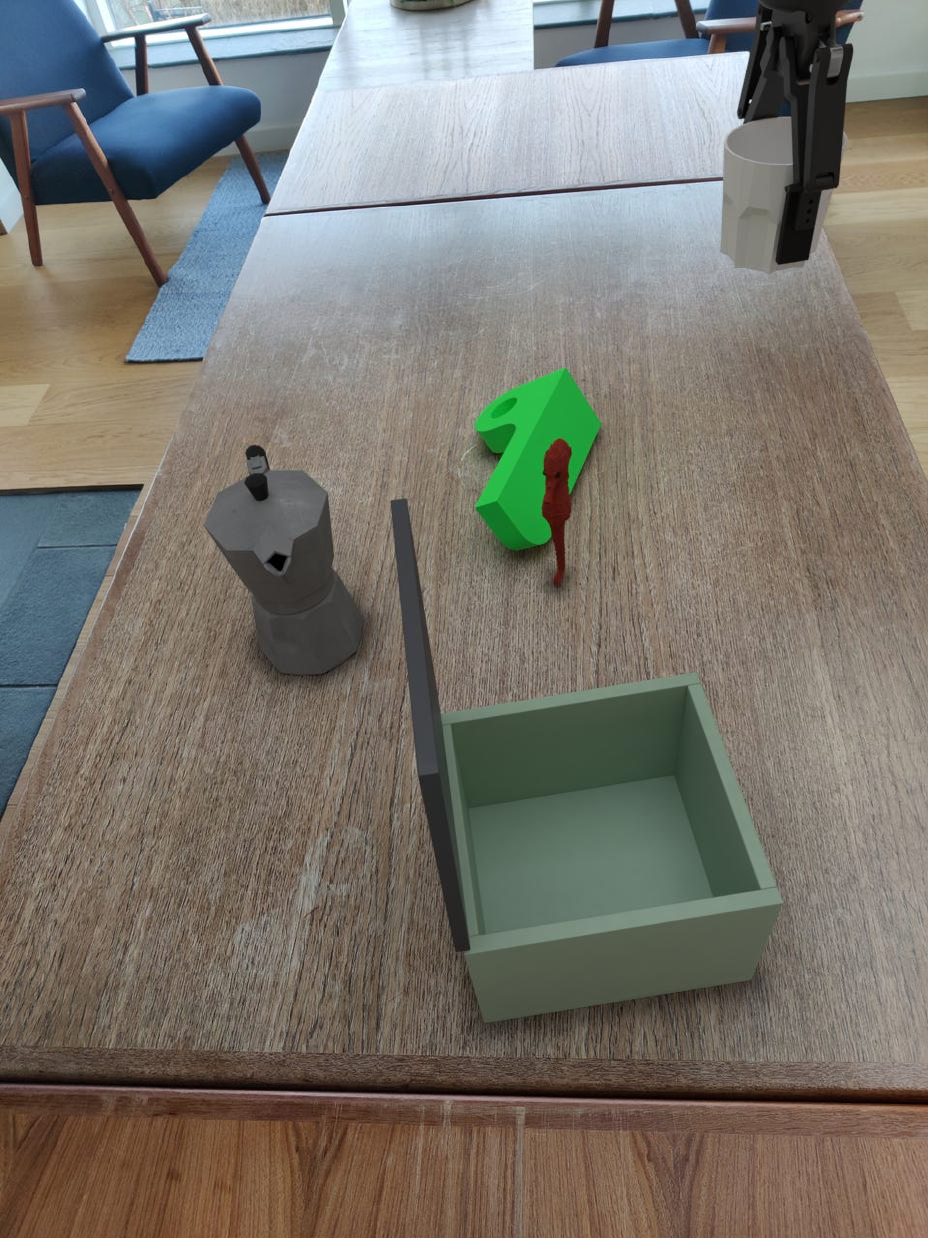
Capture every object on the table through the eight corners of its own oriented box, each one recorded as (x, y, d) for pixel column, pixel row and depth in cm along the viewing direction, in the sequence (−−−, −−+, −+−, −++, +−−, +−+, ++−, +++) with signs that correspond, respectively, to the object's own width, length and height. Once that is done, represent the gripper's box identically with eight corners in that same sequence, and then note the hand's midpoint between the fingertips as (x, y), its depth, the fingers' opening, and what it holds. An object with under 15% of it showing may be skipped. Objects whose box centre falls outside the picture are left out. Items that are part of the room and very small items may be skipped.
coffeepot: (381, 678, 73) (334, 519, 60) (270, 710, 72) (196, 556, 59) (346, 554, 83) (299, 394, 70) (248, 581, 82) (181, 424, 69)
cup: (839, 236, 83) (863, 124, 76) (801, 287, 78) (823, 171, 71) (737, 219, 88) (750, 111, 80) (695, 266, 83) (705, 155, 75)
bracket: (525, 450, 96) (489, 397, 93) (602, 424, 90) (566, 366, 86) (458, 579, 85) (413, 524, 81) (540, 560, 78) (495, 499, 75)
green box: (681, 769, 65) (697, 671, 56) (751, 980, 55) (783, 903, 46) (455, 805, 65) (434, 714, 56) (484, 1023, 55) (464, 955, 46)
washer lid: (406, 497, 42) (390, 499, 42) (439, 772, 32) (417, 776, 32) (440, 709, 56) (427, 710, 56) (470, 950, 46) (455, 953, 46)
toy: (536, 600, 77) (528, 466, 66) (555, 557, 80) (550, 422, 69) (563, 606, 76) (559, 471, 65) (580, 562, 79) (579, 427, 68)
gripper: (718, -88, 73) (694, 188, 89) (826, -15, 58) (773, 300, 74) (808, -103, 73) (768, 176, 89) (940, -34, 58) (861, 286, 74)
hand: (770, 233), depth 82 cm, fingers closed on cup, 10 cm apart
